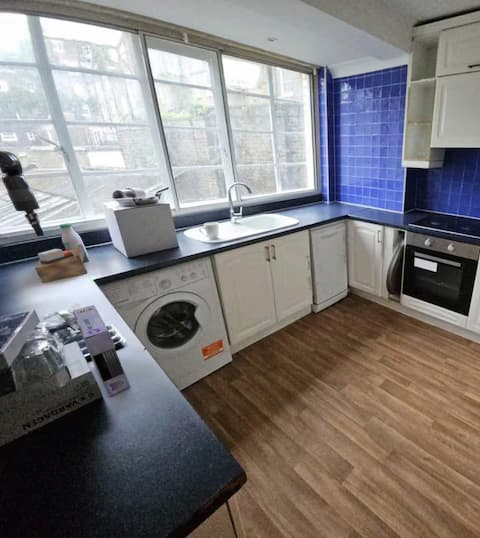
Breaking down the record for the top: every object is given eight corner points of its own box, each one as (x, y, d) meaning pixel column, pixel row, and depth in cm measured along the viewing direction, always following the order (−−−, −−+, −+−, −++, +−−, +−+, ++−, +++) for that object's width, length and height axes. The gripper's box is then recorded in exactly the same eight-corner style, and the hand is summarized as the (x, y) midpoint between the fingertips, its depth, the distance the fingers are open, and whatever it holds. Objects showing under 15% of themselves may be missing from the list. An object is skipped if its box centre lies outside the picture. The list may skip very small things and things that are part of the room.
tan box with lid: (42, 283, 136) (32, 264, 132) (49, 268, 153) (40, 251, 149) (87, 273, 145) (79, 255, 141) (89, 260, 162) (82, 244, 158)
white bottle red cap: (47, 264, 137) (42, 254, 135) (40, 263, 138) (35, 254, 136) (73, 255, 147) (69, 247, 145) (67, 255, 148) (63, 246, 146)
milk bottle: (89, 255, 170) (75, 221, 162) (88, 258, 164) (74, 224, 156) (71, 258, 165) (55, 224, 157) (70, 262, 160) (54, 226, 152)
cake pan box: (134, 388, 74) (108, 329, 67) (109, 400, 70) (79, 340, 63) (117, 355, 86) (93, 303, 79) (95, 365, 82) (68, 310, 75)
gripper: (11, 199, 132) (28, 233, 139) (10, 202, 123) (29, 239, 130) (35, 196, 137) (50, 230, 144) (35, 199, 128) (52, 235, 135)
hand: (40, 234), depth 137 cm, fingers open, 8 cm apart
